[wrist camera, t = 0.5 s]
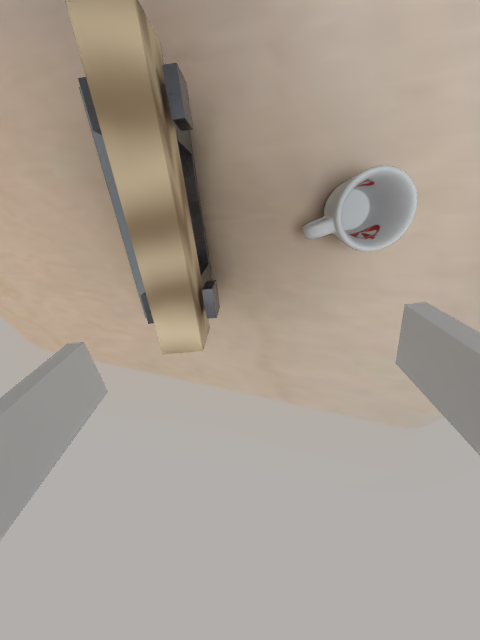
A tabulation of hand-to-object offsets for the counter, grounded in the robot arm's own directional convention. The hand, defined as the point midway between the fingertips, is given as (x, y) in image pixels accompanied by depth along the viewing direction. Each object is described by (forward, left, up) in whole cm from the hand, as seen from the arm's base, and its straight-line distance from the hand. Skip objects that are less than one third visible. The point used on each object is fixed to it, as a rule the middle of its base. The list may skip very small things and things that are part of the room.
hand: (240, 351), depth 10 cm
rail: (-5, -7, -17) cm, 19 cm away
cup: (-3, +12, -27) cm, 30 cm away
